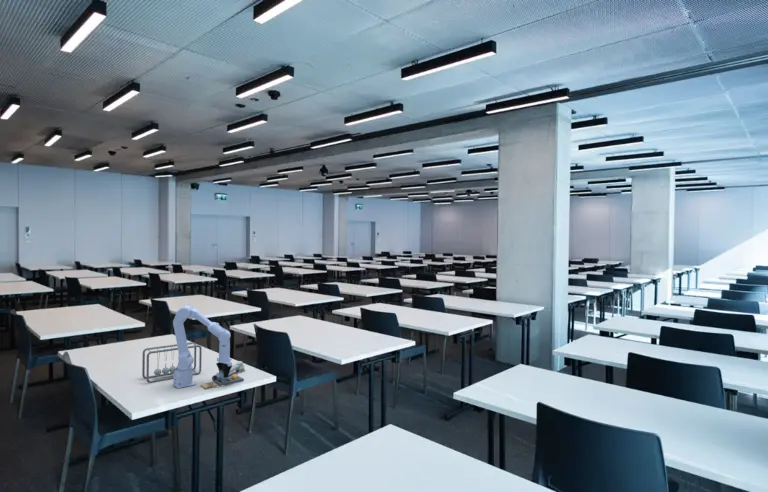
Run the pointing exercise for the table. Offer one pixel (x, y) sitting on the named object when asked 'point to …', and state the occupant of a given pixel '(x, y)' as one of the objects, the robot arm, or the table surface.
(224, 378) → the cylinder
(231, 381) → the housing
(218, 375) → the pale blue tube
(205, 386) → the pad
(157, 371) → the newton's cradle
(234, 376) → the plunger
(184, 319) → the robot arm
